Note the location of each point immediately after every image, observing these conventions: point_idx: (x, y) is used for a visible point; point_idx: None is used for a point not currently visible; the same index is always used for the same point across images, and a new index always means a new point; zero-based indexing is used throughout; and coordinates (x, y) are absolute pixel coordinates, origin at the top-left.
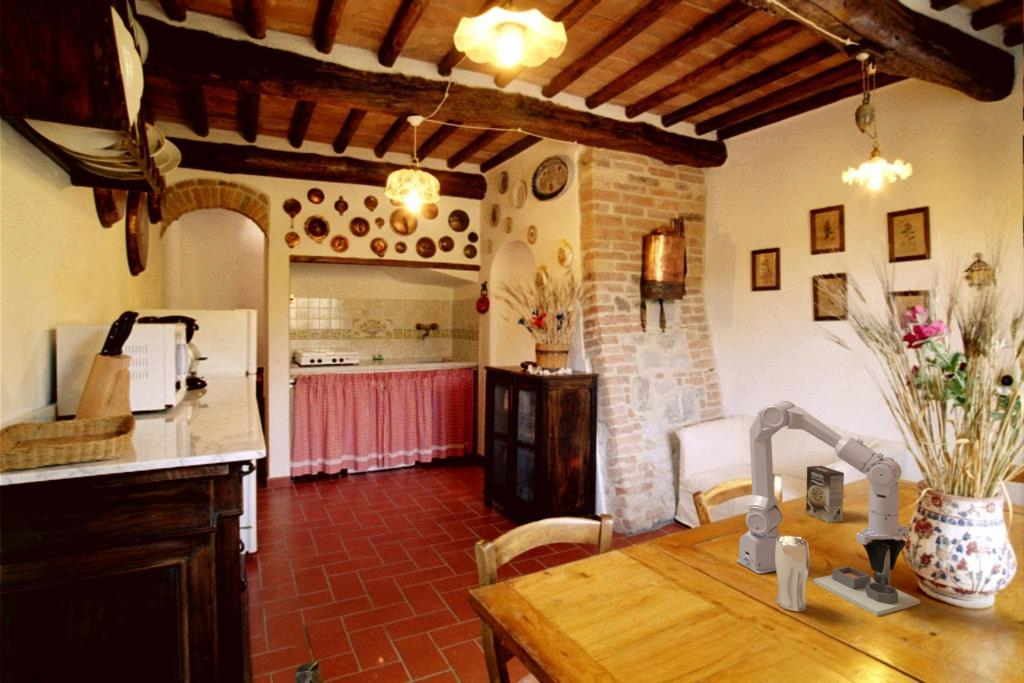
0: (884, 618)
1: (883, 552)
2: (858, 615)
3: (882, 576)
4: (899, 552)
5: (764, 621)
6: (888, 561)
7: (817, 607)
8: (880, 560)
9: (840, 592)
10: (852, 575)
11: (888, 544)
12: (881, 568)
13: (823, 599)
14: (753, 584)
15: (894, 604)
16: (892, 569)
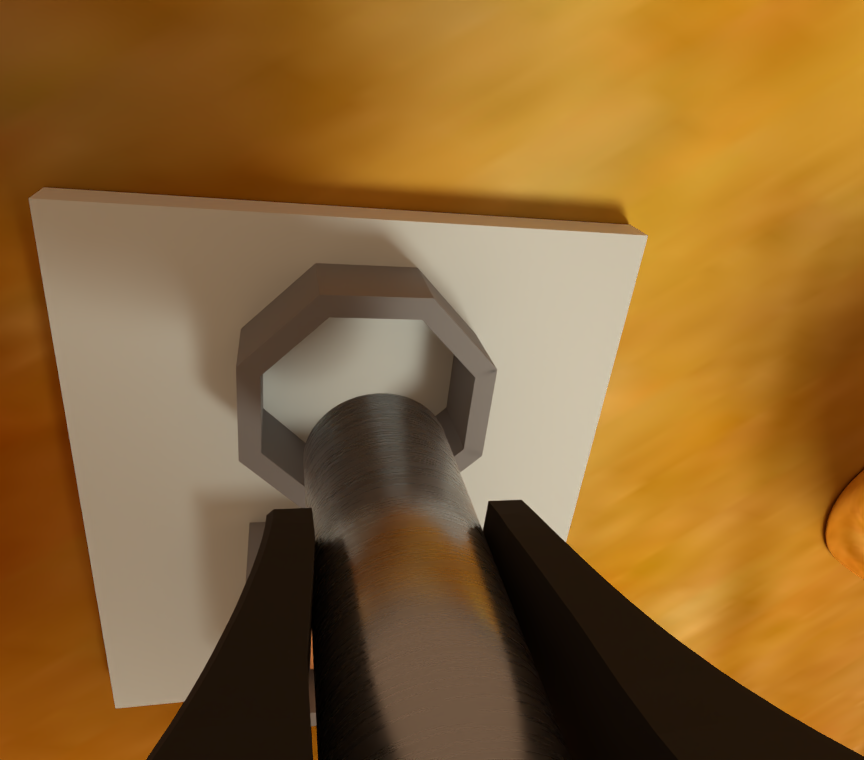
0: (617, 177)
1: (796, 753)
2: (725, 287)
3: (458, 471)
4: (179, 746)
5: None
6: (448, 603)
7: (814, 446)
8: (655, 628)
9: (569, 513)
10: (311, 638)
11: None
12: (555, 533)
13: (684, 499)
14: (804, 687)
15: (385, 252)
16: (291, 513)
